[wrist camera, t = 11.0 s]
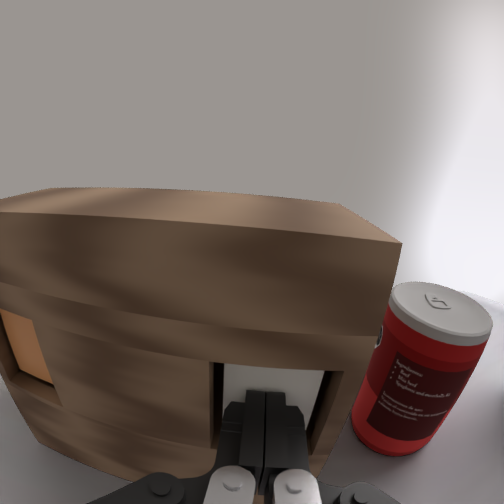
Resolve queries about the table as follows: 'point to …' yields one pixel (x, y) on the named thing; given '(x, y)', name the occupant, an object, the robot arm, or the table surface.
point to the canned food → (418, 366)
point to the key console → (183, 315)
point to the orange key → (25, 345)
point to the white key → (273, 385)
